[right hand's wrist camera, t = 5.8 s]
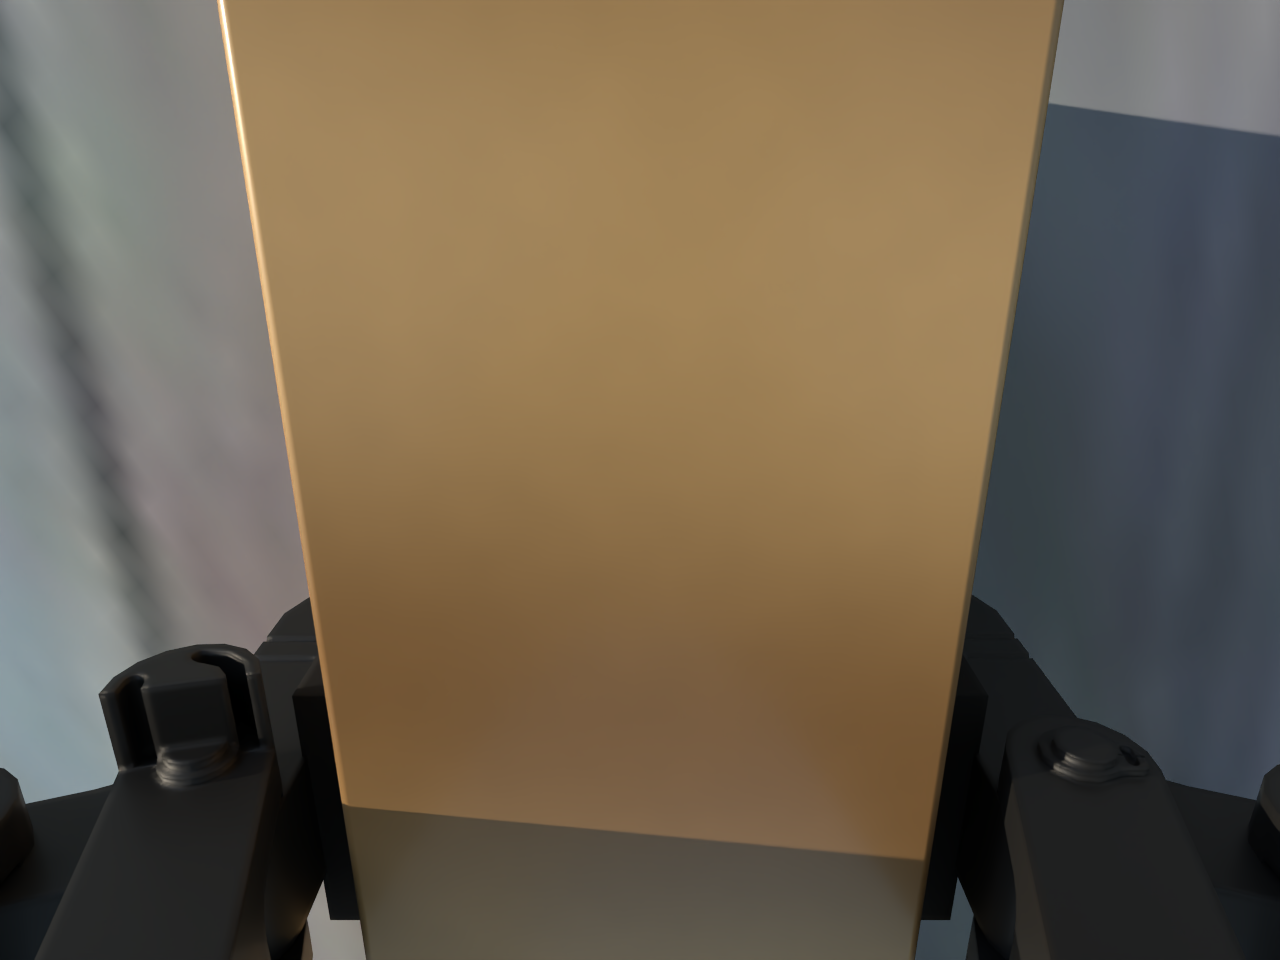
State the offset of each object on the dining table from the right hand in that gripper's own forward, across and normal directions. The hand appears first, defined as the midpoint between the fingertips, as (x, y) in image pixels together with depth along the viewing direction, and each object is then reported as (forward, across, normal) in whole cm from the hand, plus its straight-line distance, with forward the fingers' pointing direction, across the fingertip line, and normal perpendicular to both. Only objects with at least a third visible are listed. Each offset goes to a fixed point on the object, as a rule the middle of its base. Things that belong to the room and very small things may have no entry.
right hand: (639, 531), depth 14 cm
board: (+1, 0, -26) cm, 26 cm away
